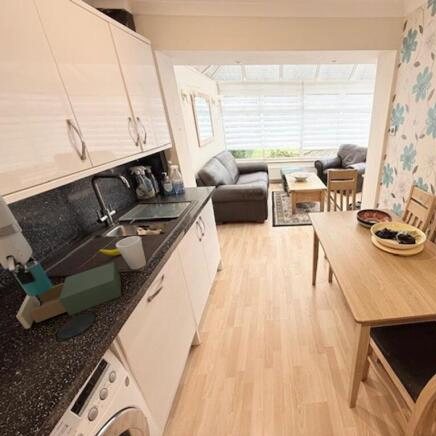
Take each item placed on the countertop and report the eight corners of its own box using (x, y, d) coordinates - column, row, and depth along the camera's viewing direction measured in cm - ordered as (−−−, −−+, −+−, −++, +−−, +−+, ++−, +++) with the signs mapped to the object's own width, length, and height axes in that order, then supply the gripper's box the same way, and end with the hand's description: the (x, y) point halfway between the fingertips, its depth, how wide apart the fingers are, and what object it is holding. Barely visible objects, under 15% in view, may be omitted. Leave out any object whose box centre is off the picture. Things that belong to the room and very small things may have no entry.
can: (25, 299, 80) (8, 274, 75) (30, 288, 84) (15, 265, 80) (50, 291, 83) (35, 266, 78) (54, 281, 88) (40, 258, 83)
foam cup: (145, 269, 107) (134, 245, 101) (123, 273, 106) (111, 248, 100) (152, 257, 116) (143, 234, 110) (132, 260, 114) (122, 237, 109)
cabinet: (69, 315, 85) (58, 299, 82) (75, 292, 96) (65, 277, 93) (121, 295, 92) (113, 280, 89) (120, 276, 104) (113, 261, 100)
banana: (145, 246, 126) (141, 235, 124) (103, 261, 116) (97, 250, 113) (144, 244, 128) (140, 234, 126) (102, 259, 118) (97, 248, 115)
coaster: (55, 344, 74) (54, 343, 74) (60, 323, 82) (60, 322, 82) (94, 328, 79) (93, 327, 79) (96, 309, 87) (95, 308, 87)
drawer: (20, 331, 79) (10, 318, 76) (32, 306, 89) (23, 294, 87) (80, 308, 87) (72, 296, 84) (84, 288, 97) (77, 276, 94)
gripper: (-4, 224, 79) (24, 269, 86) (-29, 246, 65) (7, 296, 73) (27, 218, 82) (52, 261, 90) (10, 237, 69) (40, 286, 76)
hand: (32, 276), depth 81 cm, fingers closed on can, 6 cm apart
